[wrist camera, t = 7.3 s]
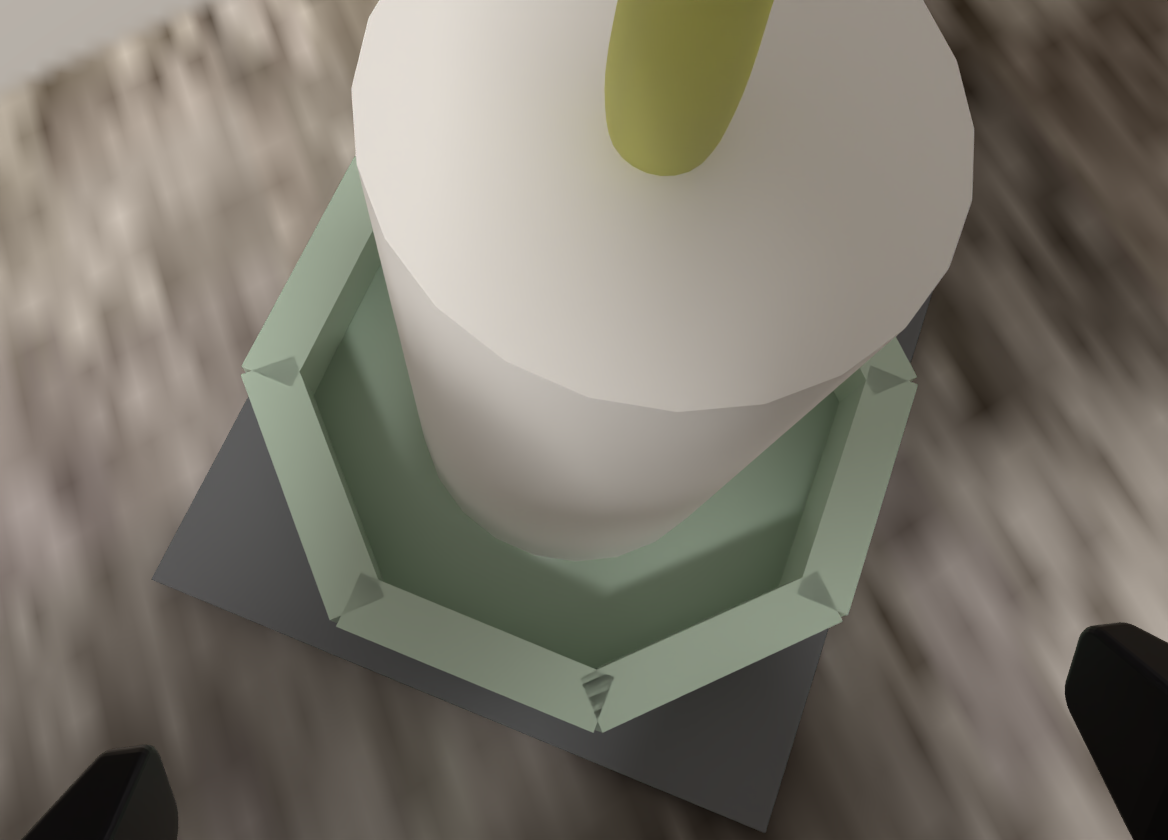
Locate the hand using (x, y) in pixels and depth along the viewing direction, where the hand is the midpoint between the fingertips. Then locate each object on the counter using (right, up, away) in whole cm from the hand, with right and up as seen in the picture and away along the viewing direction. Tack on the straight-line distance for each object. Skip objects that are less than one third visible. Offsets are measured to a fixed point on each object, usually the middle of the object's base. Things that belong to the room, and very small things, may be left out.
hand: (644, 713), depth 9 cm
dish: (-1, +3, +11) cm, 12 cm away
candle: (-1, +3, +11) cm, 11 cm away
